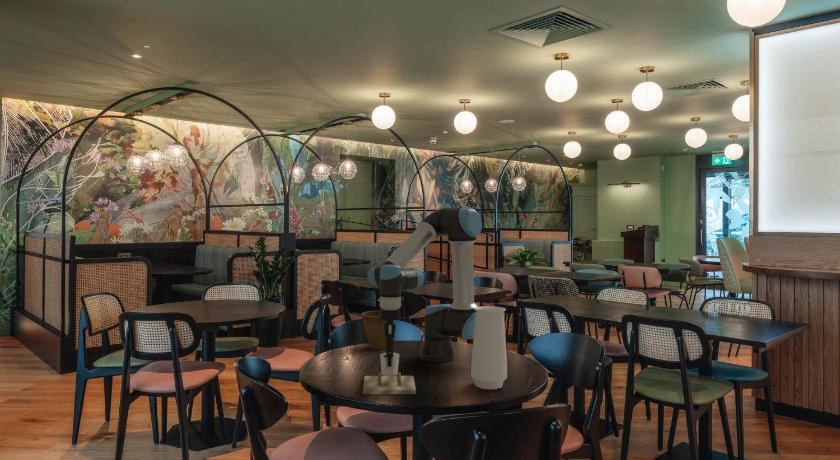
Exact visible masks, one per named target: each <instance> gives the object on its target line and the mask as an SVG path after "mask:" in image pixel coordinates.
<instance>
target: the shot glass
mask: <svg viewBox="0 0 840 460" xmlns="http://www.w3.org/2000/svg"><path fill="white" fill-rule="evenodd" d="M393 354H394V356H393V376H397V373H399V371H398V370H399V363H400V362H399V361H400V353H398V352H395V351H393ZM384 355H386V351H385V352H381V353H380V354H379V357H380V371H381V372H380V373H382V376H385V367H386V357H384Z"/></svg>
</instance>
